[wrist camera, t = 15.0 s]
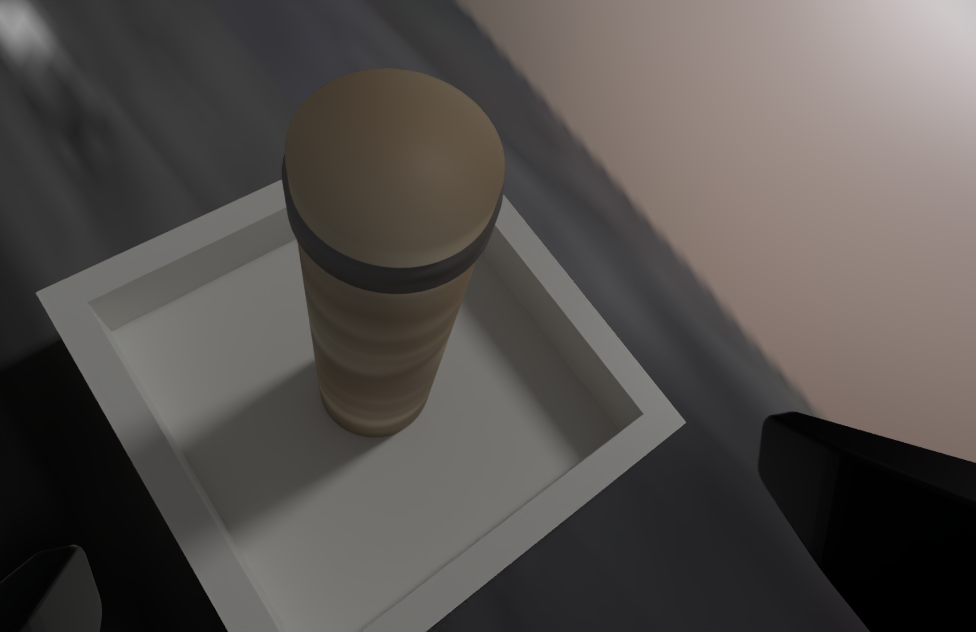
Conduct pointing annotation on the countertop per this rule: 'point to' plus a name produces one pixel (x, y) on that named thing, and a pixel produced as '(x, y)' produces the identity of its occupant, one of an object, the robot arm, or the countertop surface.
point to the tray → (335, 451)
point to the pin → (387, 233)
